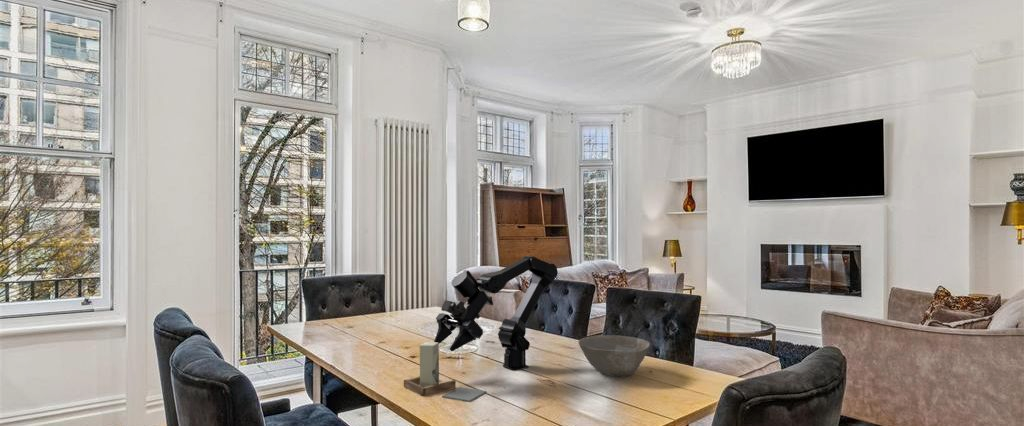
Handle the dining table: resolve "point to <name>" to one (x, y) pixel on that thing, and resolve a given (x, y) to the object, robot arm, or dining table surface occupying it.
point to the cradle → (415, 387)
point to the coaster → (464, 394)
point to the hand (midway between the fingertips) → (442, 347)
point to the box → (429, 364)
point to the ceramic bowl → (614, 353)
